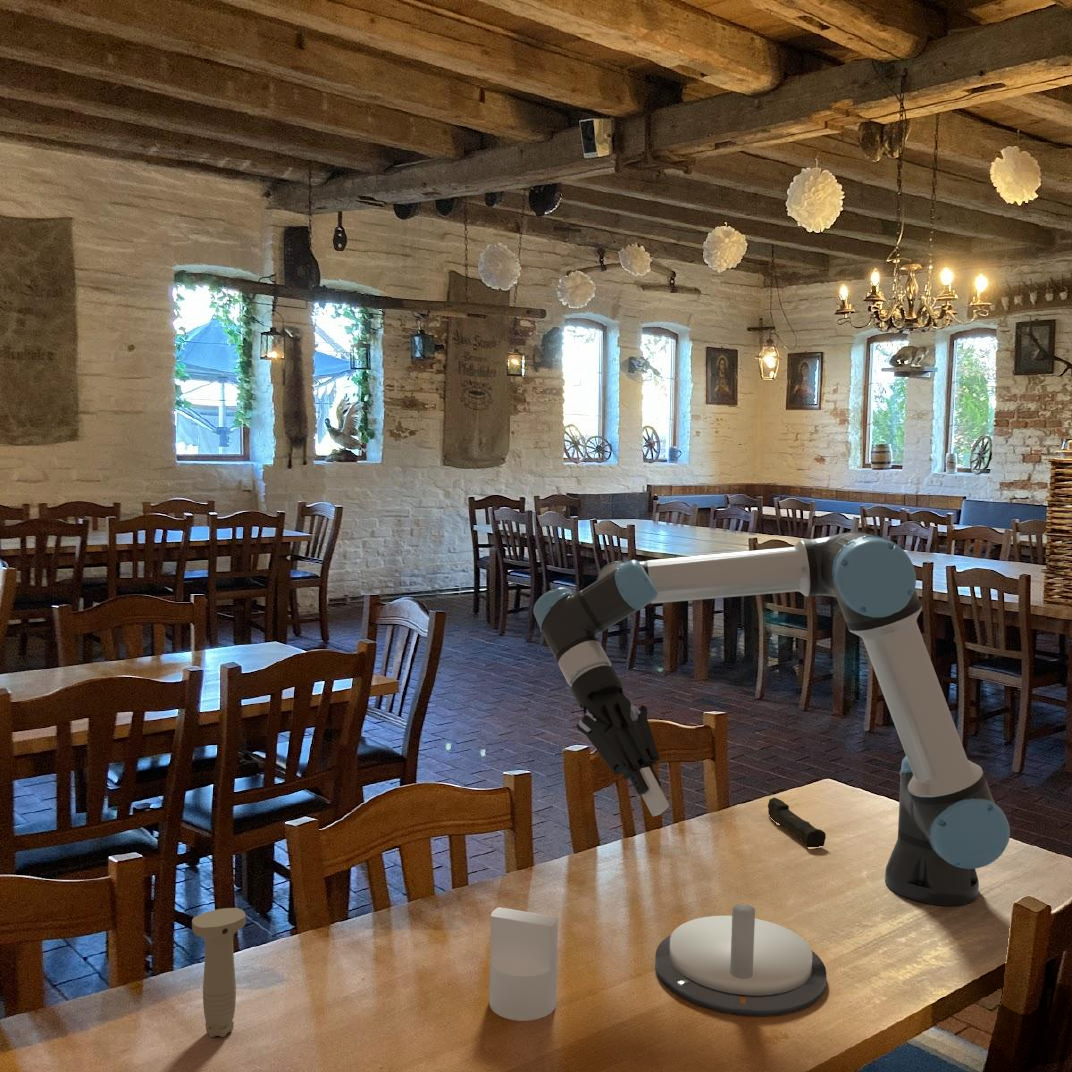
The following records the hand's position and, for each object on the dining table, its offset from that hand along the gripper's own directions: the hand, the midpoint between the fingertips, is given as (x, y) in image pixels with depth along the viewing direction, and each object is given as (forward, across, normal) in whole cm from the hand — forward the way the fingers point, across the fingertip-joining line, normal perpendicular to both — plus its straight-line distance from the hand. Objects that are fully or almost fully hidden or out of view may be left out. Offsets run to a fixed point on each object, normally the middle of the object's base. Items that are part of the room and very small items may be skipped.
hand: (661, 811), depth 155 cm
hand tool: (0, -57, -32) cm, 65 cm away
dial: (+21, -7, -7) cm, 24 cm away
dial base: (+23, -7, -8) cm, 25 cm away
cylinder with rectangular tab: (+15, +24, -16) cm, 33 cm away
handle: (+4, +60, -27) cm, 66 cm away
